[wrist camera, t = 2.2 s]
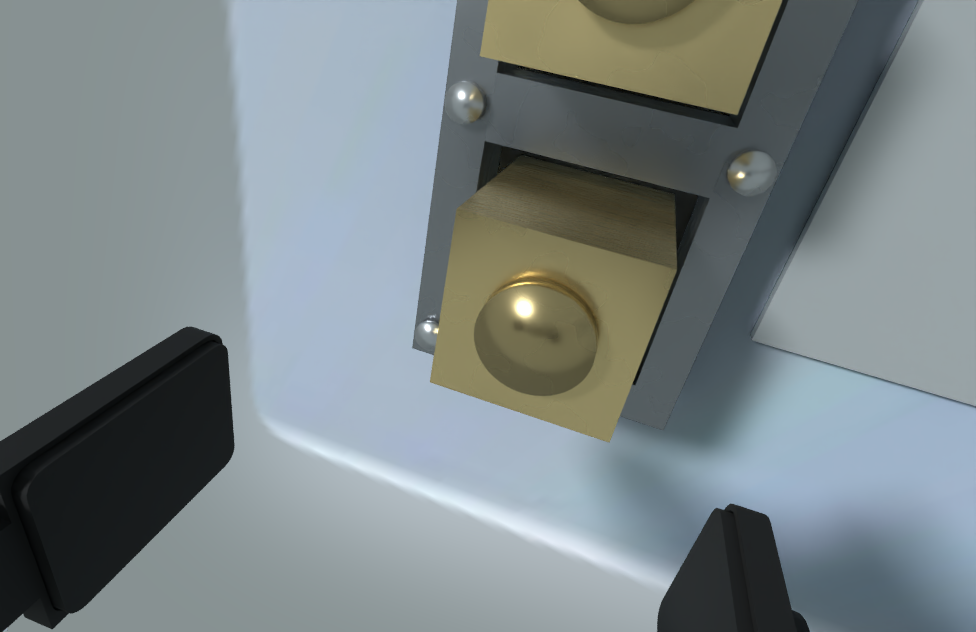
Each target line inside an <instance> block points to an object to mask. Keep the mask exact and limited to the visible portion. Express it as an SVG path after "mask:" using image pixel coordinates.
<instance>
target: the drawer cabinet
mask: <svg viewBox="0 0 976 632" xmlns="http://www.w3.org/2000/svg"><path fill="white" fill-rule="evenodd" d="M857 2H858V0H782V3H781V5H780V8H779V10H778V13H777V15H776V18H775V20H774V23H773V25H772V28H771V31H770V33H769V36H768V38H767V41H766V43H765V46H764V48H763V51H762V53H761V56H760V58H759V61H758V64H757V66H756V69H755V71H754V74H753V76H752V79H751V81H750V84H749V86H748V89H747V91H746V94H745V97H744V99H743V102H742V104H741V107H740V109H739V112H738V114H737V115H735V114H730V116H725V115H721V114H716V113H712V112H707V111H703V110H699V109H694V108H690V107H685V106H681V105H677V104H672V103H668V102H664V101H659V100H655V99H650V98H646V97H642V96H637V95H633V94H629V93H624V92H620V91H615V90H611V89H607V88H602V87H598V86H594V85H589V84H585V83H580V82H576V81H572V80H567V79H563V78H558V77H554V76H550V75H545V74H541V73H537V72H532V71H528V70H523V69H519V68H517V65H516V64H512V63H507V62H503V61H499V60H494V59H490V58H485V57H481V56H480V51H481V45H482V39H483V32H484V26H485V19H486V13H487V6H488V0H457V6H456V14H455V22H454V29H453V37H452V45H451V53H450V60H449V68H448V76H447V83H446V91H445V99H444V107H443V114H442V122H441V130H440V138H439V145H438V153H437V161H436V169H435V176H434V184H433V192H432V200H431V207H430V215H429V223H428V231H427V238H426V246H425V254H424V262H423V269H422V277H421V285H420V293H419V300H418V308H417V316H416V324H415V331H414V339H413V347H412V348H414V349H417V350H420V351H423V352H426V353H429V354H432V355H434V352H435V346H436V339H437V333H438V326H439V320H440V313H441V307H442V300H443V294H444V287H445V281H446V274H447V268H448V261H449V255H450V248H451V242H452V235H453V229H454V222H455V216H456V209H457V208H458V207H459V206H461V205H462V204H463V203H464V202H465V201H467V200H468V199H469V198H470V197H471V196H473V195H474V194H475V193H476V192H477V191H479V190H480V189H481V188H482V187H484V186H485V185H486V184H487V183H488V182H490V181H491V180H492V179H493V178H494V177H496V176H497V171H498V166H499V161H500V155H501V150H502V145H503V146H507V147H511V148H515V149H519V150H522V151H526V152H530V153H534V154H538V155H542V156H546V157H550V158H554V159H558V160H562V161H566V162H570V163H574V164H578V165H581V166H585V167H589V168H593V169H597V170H601V171H605V172H609V173H613V174H617V175H621V176H625V177H629V178H633V179H637V180H640V181H644V182H648V183H652V184H656V185H660V186H664V187H668V188H672V189H676V190H680V191H684V192H688V193H692V194H696V195H699V196H698V199H697V201H696V204H695V207H694V209H693V212H692V214H691V217H690V220H689V222H688V225H687V227H686V230H685V233H684V235H683V238H682V240H681V243H680V246H679V248H678V251H677V271H676V274H675V276H674V279H673V281H672V284H671V287H670V289H669V292H668V294H667V297H666V299H665V302H664V304H663V307H662V310H661V312H660V315H659V317H658V320H657V322H656V325H655V327H654V330H653V332H652V335H651V338H650V340H649V343H648V345H647V348H646V350H645V353H644V355H643V358H642V361H641V363H640V366H639V368H638V371H637V373H636V376H635V378H634V381H633V383H632V386H631V389H630V391H629V394H628V396H627V399H626V401H625V404H624V406H623V409H622V411H621V414H620V416H621V417H624V418H627V419H630V420H633V421H636V422H639V423H642V424H645V425H648V426H651V427H654V428H657V429H660V430H663V429H664V427H665V425H666V423H667V421H668V418H669V416H670V414H671V412H672V410H673V407H674V405H675V403H676V401H677V399H678V396H679V394H680V392H681V390H682V388H683V385H684V383H685V381H686V379H687V377H688V374H689V372H690V370H691V368H692V366H693V363H694V361H695V359H696V357H697V355H698V352H699V350H700V348H701V346H702V344H703V341H704V339H705V337H706V335H707V333H708V330H709V328H710V326H711V324H712V322H713V319H714V317H715V315H716V313H717V311H718V308H719V306H720V304H721V302H722V300H723V297H724V295H725V293H726V291H727V289H728V286H729V284H730V282H731V280H732V277H733V275H734V273H735V271H736V269H737V266H738V264H739V262H740V260H741V258H742V255H743V253H744V251H745V249H746V247H747V244H748V242H749V240H750V238H751V236H752V233H753V231H754V229H755V227H756V225H757V222H758V220H759V218H760V216H761V214H762V211H763V209H764V207H765V205H766V203H767V200H768V198H769V196H770V194H771V192H772V189H773V187H774V185H775V183H776V181H777V178H778V176H779V174H780V172H781V170H782V167H783V165H784V163H785V161H786V159H787V156H788V154H789V152H790V150H791V148H792V145H793V143H794V141H795V139H796V137H797V134H798V132H799V130H800V128H801V126H802V123H803V121H804V119H805V117H806V115H807V112H808V110H809V108H810V106H811V104H812V101H813V99H814V97H815V95H816V93H817V90H818V88H819V86H820V84H821V82H822V79H823V77H824V75H825V73H826V71H827V68H828V66H829V64H830V62H831V60H832V57H833V55H834V53H835V51H836V48H837V46H838V44H839V42H840V40H841V37H842V35H843V33H844V31H845V29H846V26H847V24H848V22H849V20H850V18H851V15H852V13H853V11H854V9H855V7H856V4H857Z"/></svg>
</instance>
